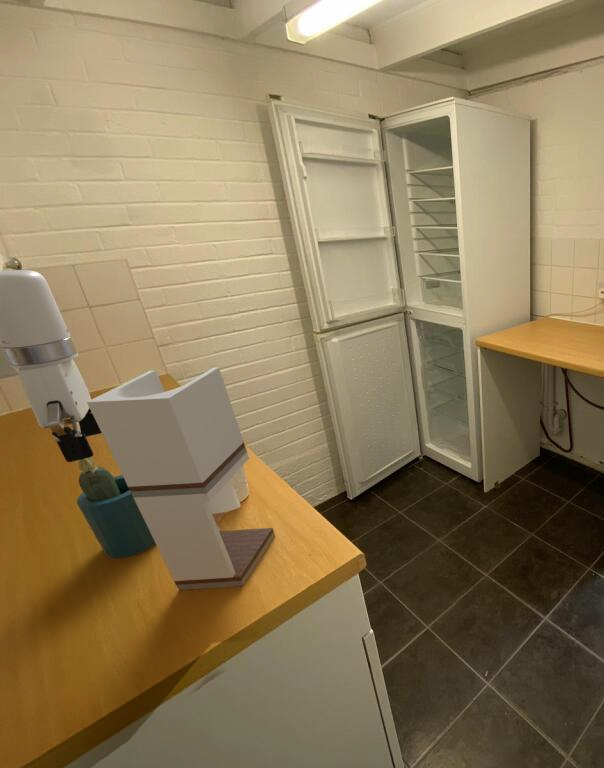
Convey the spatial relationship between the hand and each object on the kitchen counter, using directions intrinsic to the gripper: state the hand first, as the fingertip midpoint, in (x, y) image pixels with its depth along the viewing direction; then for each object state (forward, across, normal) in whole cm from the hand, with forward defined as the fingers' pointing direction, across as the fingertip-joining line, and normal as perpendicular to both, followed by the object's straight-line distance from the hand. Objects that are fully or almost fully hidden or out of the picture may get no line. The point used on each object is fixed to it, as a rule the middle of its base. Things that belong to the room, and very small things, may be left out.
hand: (86, 446), depth 72 cm
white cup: (+21, -3, +17) cm, 27 cm away
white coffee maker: (+21, +17, +15) cm, 31 cm away
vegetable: (+21, 0, +1) cm, 21 cm away
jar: (+21, 0, +1) cm, 21 cm away
